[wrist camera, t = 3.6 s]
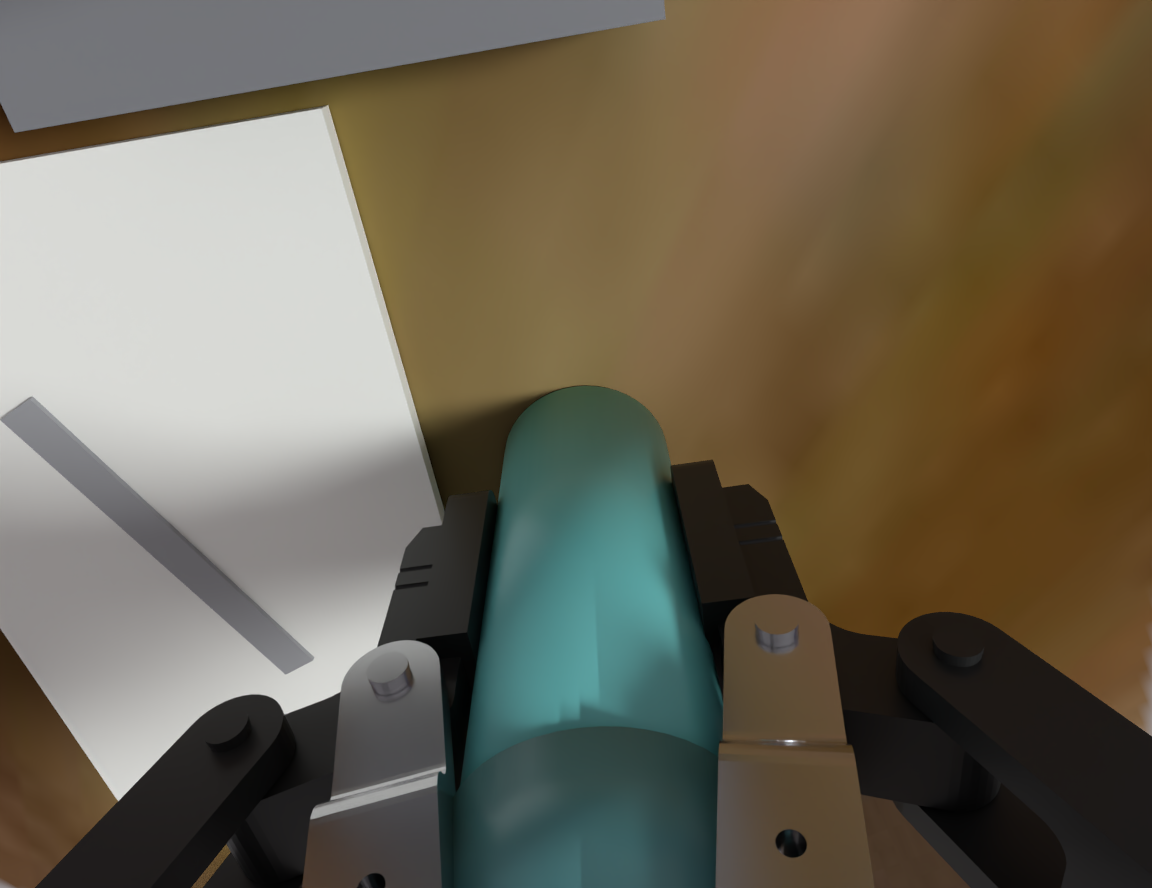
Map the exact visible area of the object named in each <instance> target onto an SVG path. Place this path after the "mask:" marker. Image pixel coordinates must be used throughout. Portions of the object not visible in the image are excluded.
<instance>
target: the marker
mask: <svg viewBox="0 0 1152 888" xmlns="http://www.w3.org/2000/svg"><path fill="white" fill-rule="evenodd" d="M670 466H671V463H670V458H669V454H668V449H667V445H666V440H665V437H664V434H663V431H662V429H661V427H660V425H659V423H658V422H657V420H656V419H655V418H654V416H653V415H652V414H651V413H650V412H649V410H648V409H647V408H646V407H645V406H643V405H642V404H641V403H639V402H638V401H637V400H635V399H633V398H632V397H630V396H628V395H626V394H624V393H621V392H619V391H616V390H613V389H609V388H605V387H598V386H576V387H570V388H565V389H561V390H558V391H555V392H552V393H550V394H548V395H546V396H544V397H542V398H540V399H539V400H537V401H535V402H534V403H533V404H531V405H530V406H529V407H528V408H527V409H526V410H525V411H524V412H523V413H522V414H521V415H520V416H519V417H518V419H517V420H516V422H515V423H514V425H513V427H512V429H511V431H510V433H509V435H508V438H507V442H506V447H505V453H504V461H503V468H502V476H501V483H500V491H499V498H498V507H497V514H496V522H495V529H494V537H493V544H492V552H491V559H490V567H489V574H488V582H487V589H486V597H485V604H484V612H483V619H482V627H481V634H480V642H479V649H478V657H477V664H476V671H475V678H474V686H473V693H472V701H471V708H470V716H469V723H468V730H467V738H466V745H465V753H464V760H463V768H462V775H461V783H460V787H459V789H458V790H457V792H456V794H455V795H454V815H453V844H454V888H716V843H717V797H718V754H719V741H720V739H723V696H722V692H721V688H720V683H719V679H718V674H717V670H716V665H715V661H714V656H713V653H712V650H711V647H710V645H709V643H708V641H707V639H706V637H705V634H704V630H703V625H702V620H701V616H700V611H699V607H698V602H697V597H696V593H695V588H694V583H693V579H692V574H691V569H690V565H689V560H688V555H687V551H686V546H685V542H684V537H683V532H682V528H681V523H680V518H679V514H678V509H677V504H676V500H675V495H674V490H673V486H672V480H671V469H670Z"/></svg>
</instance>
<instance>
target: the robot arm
mask: <svg viewBox="0 0 1152 888" xmlns="http://www.w3.org/2000/svg"><path fill="white" fill-rule="evenodd" d="M670 469H671V480H672V486H673V490H674V495H675V500H676V504H677V509H678V514H679V518H680V523H681V528H682V532H683V537H684V542H685V546H686V551H687V555H688V560H689V565H690V569H691V574H692V579H693V583H694V588H695V593H696V597H697V602H698V607H699V611H700V616H701V620H702V625H703V630H704V634H705V637H706V639H707V641H708V643H709V645H710V647H711V650H712V653H713V656H714V661H715V665H716V670H717V674H718V679H719V683H720V688H721V692H722V696H723V739H720V741H719V754H718V797H717V843H716V888H875V887H874V880H873V873H872V867H871V860H870V853H869V847H868V840H867V833H866V827H865V820H864V813H863V807H862V800H861V795H866V796H871V797H876V798H882V799H887V800H892V801H893V803H894V804H895V806H896V808H897V809H898V810H899V812H900V813H901V814H902V815H903V816H904V818H905V819H906V820H907V821H908V822H909V823H910V824H911V825H912V826H913V827H914V828H915V829H916V830H917V831H918V832H919V833H920V835H921V836H922V837H923V838H924V839H925V840H926V841H927V842H928V843H929V844H930V845H931V846H932V847H933V848H934V849H935V850H936V852H937V853H938V854H939V855H940V856H941V857H942V858H943V859H944V860H945V861H946V862H947V863H948V864H949V865H950V866H951V867H952V868H953V870H954V871H955V872H956V873H957V874H958V875H959V876H960V877H961V878H962V879H963V880H964V881H965V882H966V883H967V884H968V885H969V887H970V888H1152V736H1150V735H1149V734H1148V733H1146V732H1145V731H1143V730H1142V729H1141V728H1139V727H1138V726H1136V725H1135V724H1133V723H1132V722H1131V721H1129V720H1128V719H1126V718H1125V717H1124V716H1122V715H1121V714H1119V713H1118V712H1116V711H1115V710H1114V709H1112V708H1111V707H1109V706H1108V705H1106V704H1105V703H1104V702H1102V701H1101V700H1099V699H1098V698H1097V697H1095V696H1094V695H1092V694H1091V693H1089V692H1088V691H1087V690H1085V689H1084V688H1082V687H1081V686H1080V685H1078V684H1077V683H1075V682H1074V681H1072V680H1071V679H1070V678H1068V677H1067V676H1065V675H1064V674H1062V673H1061V672H1060V671H1058V670H1057V669H1055V668H1054V667H1053V666H1051V665H1050V664H1048V663H1047V662H1045V661H1044V660H1043V659H1041V658H1040V657H1038V656H1037V655H1035V654H1034V653H1033V652H1031V651H1030V650H1028V649H1027V648H1026V647H1024V646H1023V645H1021V644H1020V643H1018V642H1017V641H1016V640H1014V639H1013V638H1011V637H1010V636H1009V635H1007V634H1006V633H1004V632H1003V631H1001V630H1000V629H999V628H997V627H995V626H994V625H992V624H990V623H988V622H986V621H984V620H982V619H979V618H976V617H973V616H970V615H965V614H961V613H953V612H937V613H930V614H926V615H922V616H919V617H917V618H915V619H913V620H911V621H910V622H908V623H907V624H906V625H905V626H904V627H903V628H902V630H901V631H900V633H899V636H898V639H897V638H889V637H880V636H872V635H865V634H859V633H854V632H851V631H847V630H844V629H842V628H839V627H837V626H835V625H833V624H831V623H829V622H828V620H827V618H826V617H825V615H824V614H823V613H822V612H821V611H820V610H819V609H818V608H817V607H815V606H814V605H812V604H811V603H809V602H808V600H807V598H806V596H805V593H804V590H803V588H802V585H801V583H800V580H799V578H798V575H797V573H796V570H795V568H794V565H793V563H792V560H791V558H790V555H789V553H788V550H787V548H786V545H785V543H784V540H782V535H781V532H780V530H779V527H778V525H777V524H776V521H775V517H774V515H773V512H772V510H771V507H770V505H769V502H768V500H767V499H766V498H765V497H763V496H762V495H761V494H760V493H758V492H757V491H756V490H755V489H753V488H752V487H751V486H750V485H749V484H747V485H739V486H732V487H724V488H722V487H721V483H720V480H719V477H718V474H717V471H716V468H715V464H714V462H713V460H707V461H700V462H693V463H685V464H678V465H671V466H670ZM497 507H498V506H497V502H496V499H495V496H494V493H493V492H492V490H486V491H479V492H472V493H464V494H457V495H450V496H449V497H448V500H447V504H446V509H445V513H444V517H443V522H442V525H440V526H432V527H425V528H422V529H421V530H420V532H419V533H418V534H417V535H416V536H415V537H414V539H413V540H412V541H411V542H410V543H409V544H408V546H407V547H406V548H405V552H404V555H403V559H402V562H401V566H400V573H398V576H397V580H396V583H395V590H393V594H392V597H391V600H390V604H389V607H388V611H387V614H386V618H385V621H384V625H383V628H382V632H381V635H380V639H379V642H378V646H377V648H375V649H373V650H371V651H369V652H368V653H366V654H365V655H363V656H362V657H361V658H359V659H358V660H357V661H356V662H355V663H354V664H353V665H352V666H351V668H350V669H349V670H348V672H347V673H346V675H345V677H344V679H343V682H342V686H341V692H339V693H337V694H335V695H334V696H332V697H329V698H327V699H325V700H322V701H319V702H317V703H314V704H311V705H309V706H306V707H303V708H301V709H298V710H295V711H293V712H290V713H288V714H284V712H283V710H282V708H281V706H280V705H279V703H278V702H277V701H276V700H274V699H273V698H271V697H269V696H266V695H260V694H251V695H244V696H240V697H236V698H233V699H230V700H228V701H225V702H223V703H221V704H219V705H217V706H215V707H214V708H212V709H211V710H209V711H207V712H206V713H205V714H204V715H202V716H201V717H200V718H199V719H198V720H196V721H195V722H194V723H193V724H192V725H191V726H190V727H189V728H188V729H187V731H186V732H185V733H184V734H183V735H182V736H181V737H180V738H179V739H178V740H177V741H176V742H175V743H174V744H173V745H172V746H171V747H170V748H169V749H168V750H167V751H166V752H165V753H164V754H163V755H162V756H161V757H160V759H159V760H158V761H157V762H156V763H155V764H154V765H153V766H152V767H151V768H150V769H149V770H148V771H147V772H146V773H145V774H144V775H143V776H142V777H141V778H140V779H139V780H138V781H137V782H136V783H135V784H134V786H133V787H132V788H131V789H130V790H129V791H128V792H127V793H126V794H125V795H124V796H123V797H122V798H121V799H120V800H119V801H118V802H117V803H116V804H115V805H114V806H113V807H112V808H111V809H110V810H109V811H108V812H107V814H106V815H105V816H104V817H103V818H102V819H101V820H100V821H99V822H98V823H97V824H96V825H95V826H94V827H93V828H92V829H91V830H90V831H89V832H88V833H87V834H86V835H85V836H84V837H83V838H82V839H81V841H80V842H79V843H78V844H77V845H76V846H75V847H74V848H73V849H72V850H71V851H70V852H69V853H68V854H67V855H66V856H65V857H64V858H63V859H62V860H61V861H60V862H59V863H58V864H57V865H56V866H55V868H54V869H53V870H52V871H51V872H50V873H49V874H48V875H47V876H46V877H45V878H44V879H43V880H42V881H41V882H40V883H39V884H38V885H37V886H36V887H35V888H191V887H192V886H193V884H194V883H195V882H196V881H197V880H198V878H199V877H200V876H201V875H202V873H203V872H204V871H205V870H206V868H207V867H208V866H209V865H210V863H211V862H212V861H213V860H214V858H215V857H216V856H217V855H218V853H219V852H220V851H221V850H222V848H223V847H224V846H225V845H226V844H227V846H228V848H229V849H230V851H231V853H230V854H229V855H228V857H227V858H226V859H225V860H224V862H223V863H222V864H221V865H220V867H219V868H218V869H217V871H216V872H215V873H214V874H213V876H212V877H211V878H210V879H209V881H208V882H207V883H206V884H205V886H204V887H203V888H454V844H453V815H454V795H455V794H456V792H457V790H458V789H459V787H460V783H461V775H462V768H463V760H464V753H465V745H466V738H467V730H468V723H469V716H470V708H471V701H472V693H473V686H474V678H475V671H476V664H477V657H478V649H479V642H480V634H481V627H482V619H483V612H484V604H485V597H486V589H487V582H488V574H489V567H490V559H491V552H492V544H493V537H494V529H495V522H496V514H497Z"/></svg>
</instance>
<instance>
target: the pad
mask: <svg viewBox="0 0 1152 888" xmlns="http://www.w3.org/2000/svg"><path fill="white" fill-rule="evenodd" d="M444 513H445V511H444V507H443V504H442V500H441V497H440V494H439V490H438V487H437V483H436V480H435V476H434V473H433V469H432V466H431V462H430V459H429V455H428V452H427V448H426V445H425V441H424V438H423V434H422V431H421V427H420V424H419V420H418V417H417V413H416V410H415V406H414V403H413V399H412V396H411V392H410V389H409V385H408V382H407V378H406V375H405V371H404V368H403V364H402V361H401V357H400V354H399V351H398V347H397V344H396V340H395V337H394V333H393V330H392V326H391V323H390V319H389V316H388V312H387V309H386V305H385V302H384V298H383V295H382V291H381V288H380V284H379V281H378V277H377V274H376V270H375V267H374V263H373V260H372V256H371V253H370V249H369V246H368V242H367V239H366V235H365V232H364V228H363V225H362V221H361V218H360V215H359V211H358V208H357V204H356V201H355V197H354V194H353V190H352V187H351V183H350V180H349V176H348V173H347V169H346V166H345V162H344V159H343V155H342V152H341V148H340V145H339V141H338V138H337V134H336V131H335V127H334V124H333V120H332V117H331V113H330V110H329V106H328V105H326V106H320V107H315V108H309V109H303V110H297V111H291V112H286V113H280V114H274V115H268V116H262V117H257V118H251V119H245V120H239V121H233V122H228V123H222V124H216V125H210V126H204V127H198V128H193V129H187V130H181V131H175V132H169V133H164V134H158V135H152V136H146V137H140V138H135V139H129V140H123V141H117V142H111V143H106V144H100V145H94V146H88V147H82V148H77V149H71V150H65V151H59V152H53V153H48V154H42V155H36V156H30V157H24V158H19V159H13V160H7V161H1V162H0V629H1V630H2V632H3V633H4V635H5V636H6V638H7V639H8V641H9V642H10V644H11V645H12V646H13V648H14V649H15V651H16V652H17V654H18V655H19V657H20V658H21V660H22V661H23V663H24V664H25V665H26V667H27V668H28V670H29V671H30V673H31V674H32V676H33V677H34V679H35V680H36V682H37V683H38V685H39V686H40V687H41V689H42V690H43V692H44V693H45V695H46V696H47V698H48V699H49V701H50V702H51V704H52V705H53V706H54V708H55V709H56V711H57V712H58V714H59V715H60V717H61V718H62V720H63V721H64V723H65V724H66V725H67V727H68V728H69V730H70V731H71V733H72V734H73V736H74V737H75V739H76V740H77V742H78V743H79V745H80V746H81V747H82V749H83V750H84V752H85V753H86V755H87V756H88V758H89V759H90V761H91V762H92V764H93V765H94V766H95V768H96V769H97V771H98V772H99V774H100V775H101V777H102V778H103V780H104V781H105V783H106V784H107V785H108V787H109V788H110V790H111V791H112V793H113V794H114V796H115V797H116V799H117V800H118V801H119V800H120V799H121V798H122V797H123V796H124V795H125V794H126V793H127V792H128V791H129V790H130V789H131V788H132V787H133V786H134V784H135V783H136V782H137V781H138V780H139V779H140V778H141V777H142V776H143V775H144V774H145V773H146V772H147V771H148V770H149V769H150V768H151V767H152V766H153V765H154V764H155V763H156V762H157V761H158V760H159V759H160V757H161V756H162V755H163V754H164V753H165V752H166V751H167V750H168V749H169V748H170V747H171V746H172V745H173V744H174V743H175V742H176V741H177V740H178V739H179V738H180V737H181V736H182V735H183V734H184V733H185V732H186V731H187V729H188V728H189V727H190V726H191V725H192V724H193V723H194V722H195V721H196V720H198V719H199V718H200V717H201V716H202V715H204V714H205V713H206V712H207V711H209V710H211V709H212V708H214V707H215V706H217V705H219V704H221V703H223V702H225V701H228V700H230V699H233V698H236V697H240V696H244V695H251V694H260V695H266V696H269V697H271V698H273V699H274V700H276V701H277V702H278V703H279V705H280V706H281V708H282V710H283V712H284V714H288V713H290V712H293V711H295V710H298V709H301V708H303V707H306V706H309V705H311V704H314V703H317V702H319V701H322V700H325V699H327V698H329V697H332V696H334V695H335V694H337V693H339V692H341V686H342V682H343V679H344V677H345V675H346V673H347V672H348V670H349V669H350V668H351V666H352V665H353V664H354V663H355V662H356V661H357V660H358V659H359V658H361V657H362V656H363V655H365V654H366V653H368V652H369V651H371V650H373V649H375V648H377V646H378V642H379V639H380V635H381V632H382V628H383V625H384V621H385V618H386V614H387V611H388V607H389V604H390V600H391V597H392V594H393V590H395V583H396V580H397V576H398V573H400V566H401V562H402V559H403V555H404V552H405V548H406V547H407V546H408V544H409V543H410V542H411V541H412V540H413V539H414V537H415V536H416V535H417V534H418V533H419V532H420V530H421V529H422V528H425V527H432V526H440V525H442V522H443V517H444Z"/></svg>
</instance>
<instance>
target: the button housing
mask: <svg viewBox="0 0 1152 888" xmlns="http://www.w3.org/2000/svg"><path fill="white" fill-rule="evenodd" d="M663 19H665V7H664V0H0V103H1V105H2V107H3V109H4V111H5V113H6V116H7V118H8V120H9V122H10V124H11V126H12V128H13V130H14V132H15V133H16V132H21V131H27V130H33V129H39V128H44V127H50V126H56V125H61V124H67V123H73V122H79V121H84V120H90V119H96V118H102V117H107V116H113V115H119V114H124V113H130V112H136V111H142V110H147V109H153V108H159V107H165V106H170V105H176V104H182V103H187V102H193V101H199V100H205V99H210V98H216V97H222V96H228V95H233V94H239V93H245V92H250V91H256V90H262V89H268V88H273V87H279V86H285V85H291V84H296V83H302V82H308V81H313V80H319V79H325V78H331V77H336V76H342V75H348V74H354V73H359V72H365V71H371V70H376V69H382V68H388V67H394V66H399V65H405V64H411V63H417V62H422V61H428V60H434V59H439V58H445V57H451V56H457V55H462V54H468V53H474V52H480V51H485V50H491V49H497V48H502V47H508V46H514V45H520V44H525V43H531V42H537V41H542V40H548V39H554V38H560V37H565V36H571V35H577V34H583V33H588V32H594V31H600V30H605V29H611V28H617V27H623V26H628V25H634V24H640V23H646V22H651V21H657V20H663Z"/></svg>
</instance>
